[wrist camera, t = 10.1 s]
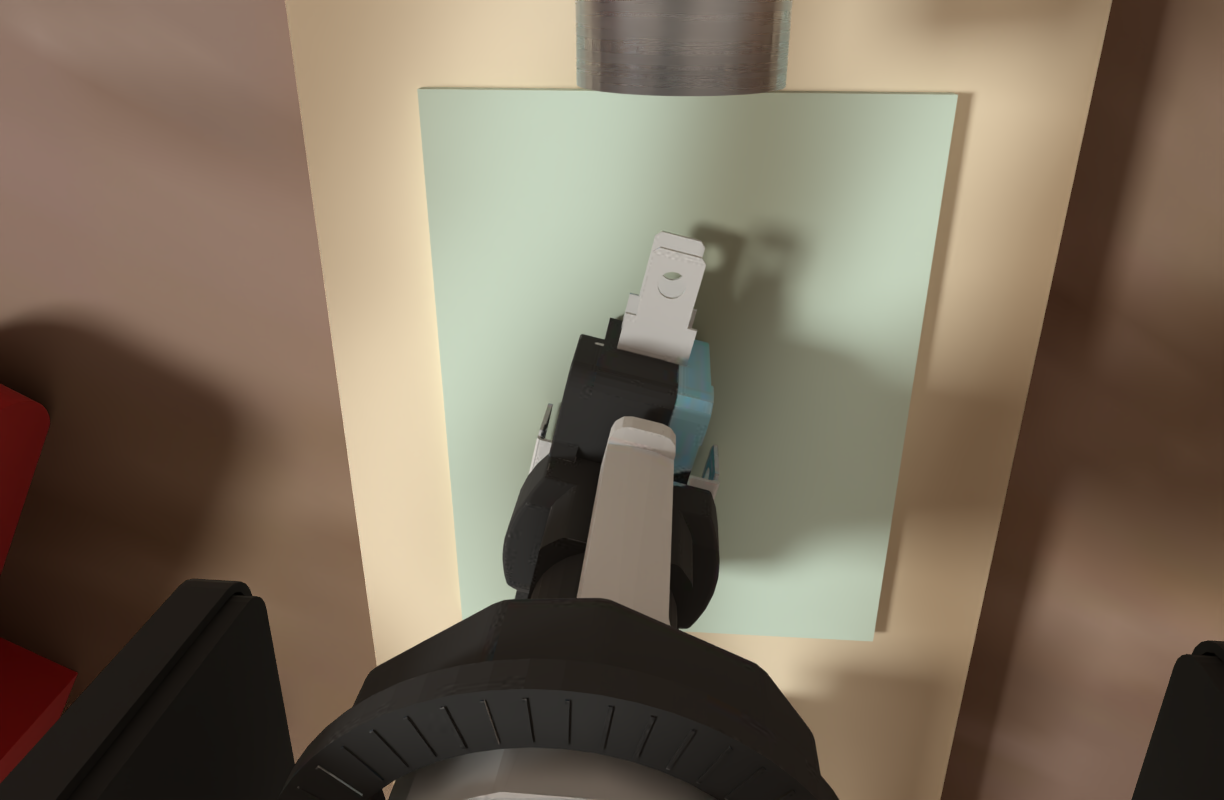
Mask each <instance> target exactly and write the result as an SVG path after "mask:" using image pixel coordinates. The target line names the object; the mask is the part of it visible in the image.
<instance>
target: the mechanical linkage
mask: <svg viewBox="0 0 1224 800" xmlns="http://www.w3.org/2000/svg"><path fill="white" fill-rule="evenodd" d="M49 426H50V418H49V414H48V412H47V410H46V409H45V407H44V406H43V405H41V404H40V403H38V402H36V401H34V400H32V399H30V398H28V397H26V396H24V395H22V394H20V393H18V392H16V391H14V390H12V389H10V388H8V387H6V386H4V385H2V384H0V575H1V572H2V569H3V566H4V563H5V560H6V557H7V554H8V551H9V548H10V545H11V542H12V539H13V536H14V533H15V530H16V527H17V524H18V520H19V517H20V514H21V511H22V508H23V505H24V502H25V499H26V496H27V493H28V490H29V487H30V484H31V481H32V478H33V475H34V472H35V469H36V466H37V463H38V460H39V457H40V453H41V450H42V447H43V444H44V441H45V438H46V435H47V432H48V429H49ZM77 674H78V673H77V672H75V671H73V670H70V669H68V668H66V667H64V666H62V665H60V664H57V663H55V662H53V661H51V660H49V659H47V658H44V657H42V656H40V655H38V654H36V653H33V652H31V651H29V650H27V649H25V648H23V647H20V646H18V645H16V644H14V643H12V642H9V641H7V640H5V639H3V638H1V637H0V783H1V782H2V781H3V780H4V779H5V778H6V777H7V776H8V774H9V773H10V772H11V771H12V770H13V769H14V768H15V767H16V766H17V764H18V763H19V762H20V761H21V760H22V759H23V758H24V757H25V756H26V755H27V753H28V752H29V751H30V750H31V749H32V748H33V747H34V746H35V745H36V744H37V742H38V741H39V740H40V739H41V738H42V737H43V736H44V735H45V734H46V733H47V731H48V730H49V729H50V728H51V727H52V726H53V725H54V724H55V723H56V721H57V720H58V719H59V718H60V716H61V714H62V711H63V709H64V706H65V704H66V701H67V699H68V696H69V694H70V692H71V689H72V687H73V684H74V682H75V679H76V677H77Z"/></svg>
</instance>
